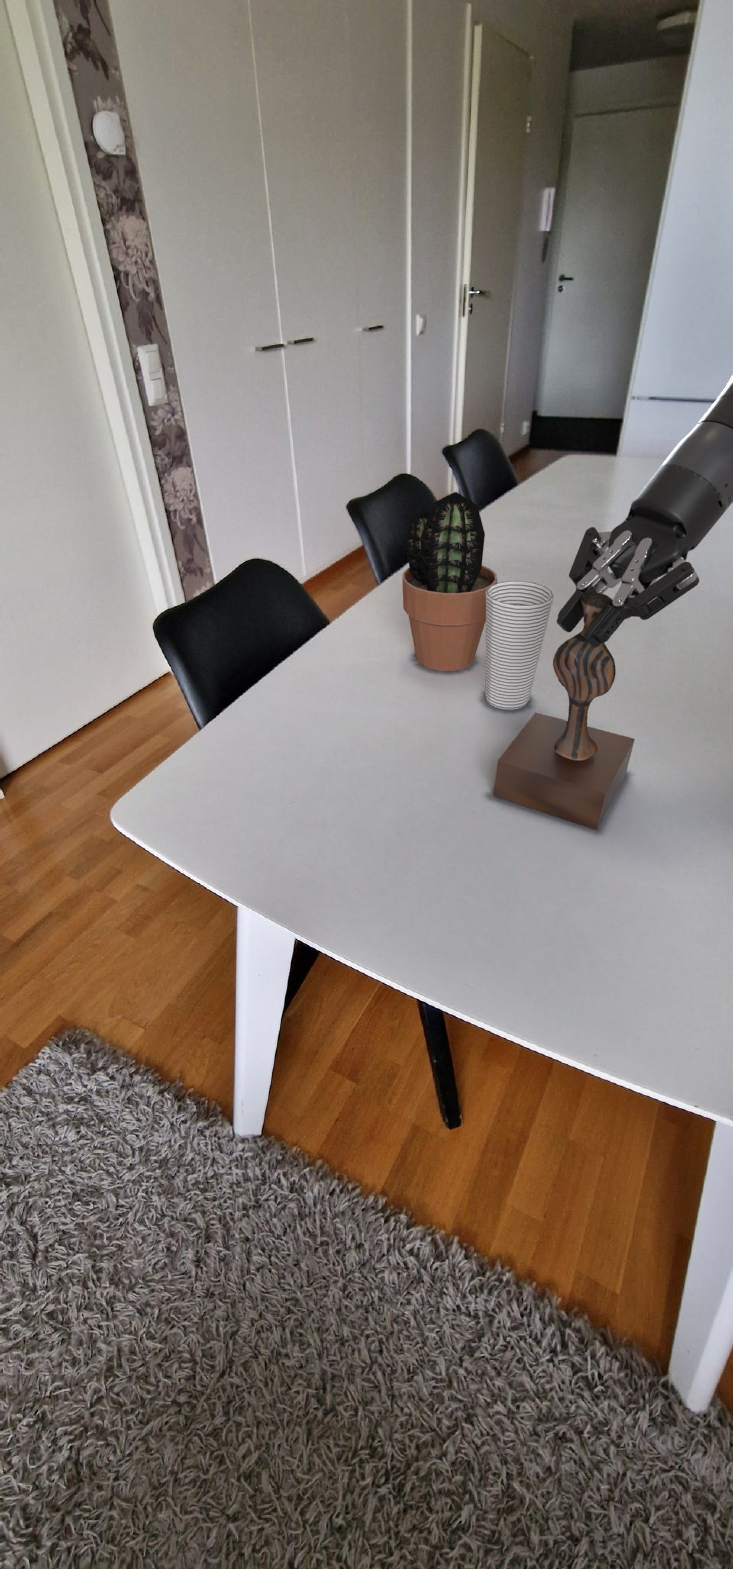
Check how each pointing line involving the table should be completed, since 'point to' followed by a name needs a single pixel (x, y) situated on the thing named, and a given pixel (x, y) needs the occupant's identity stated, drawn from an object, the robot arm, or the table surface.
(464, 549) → the potted plant
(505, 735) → the table surface
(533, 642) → the cup
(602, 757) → the walnut block
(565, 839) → the table surface
